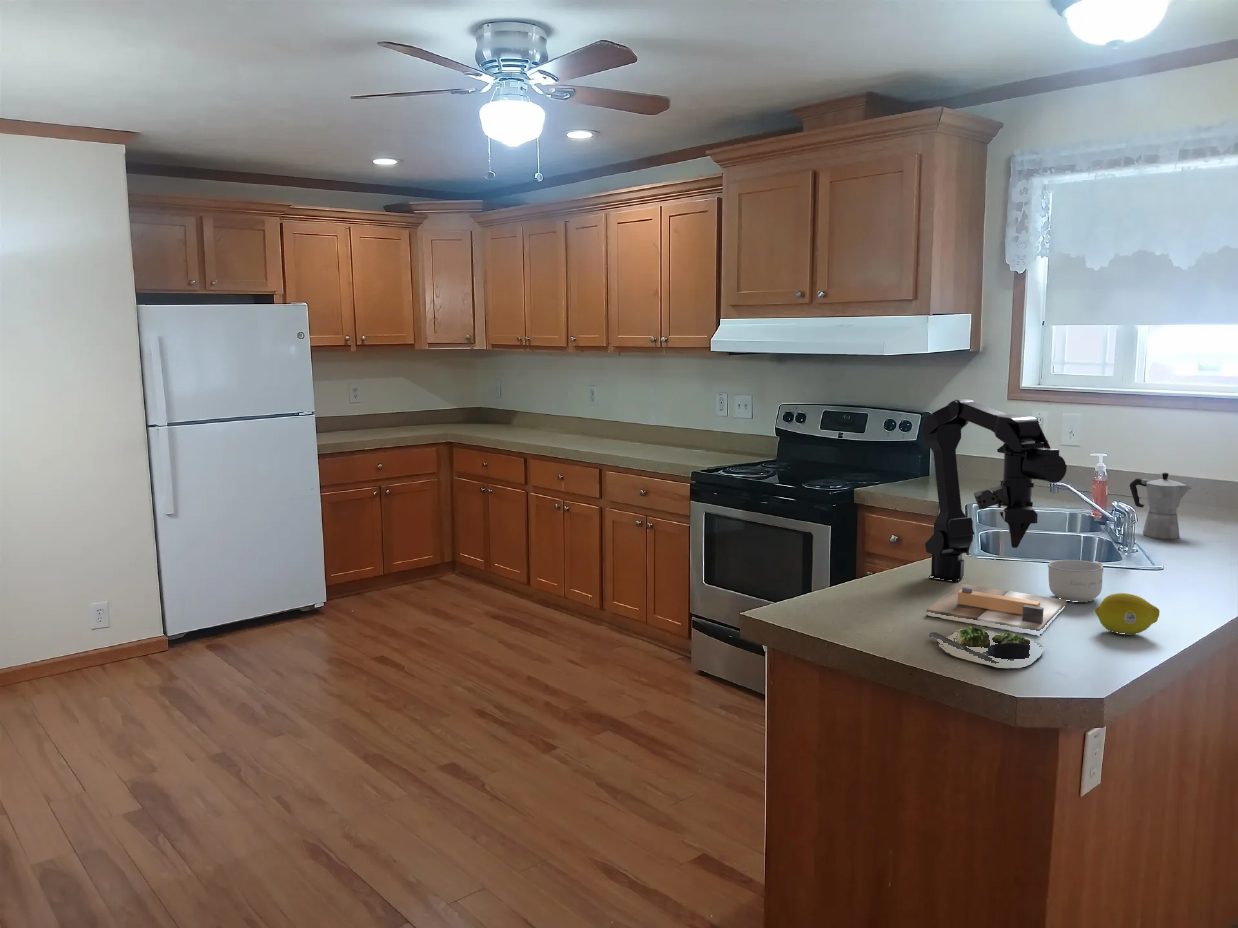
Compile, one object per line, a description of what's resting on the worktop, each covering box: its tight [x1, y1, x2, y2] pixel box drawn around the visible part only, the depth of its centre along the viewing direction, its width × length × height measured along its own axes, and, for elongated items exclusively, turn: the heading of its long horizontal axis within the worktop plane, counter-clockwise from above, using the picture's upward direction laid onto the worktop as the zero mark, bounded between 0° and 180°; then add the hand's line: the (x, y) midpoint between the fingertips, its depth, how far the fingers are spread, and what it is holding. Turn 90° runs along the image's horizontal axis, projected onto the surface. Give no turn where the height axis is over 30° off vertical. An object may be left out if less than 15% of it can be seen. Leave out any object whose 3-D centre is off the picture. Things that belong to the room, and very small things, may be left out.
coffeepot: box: [1129, 472, 1193, 540], centre depth 253 cm, size 15×9×18 cm, turn 44°
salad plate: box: [928, 625, 1044, 664], centre depth 167 cm, size 19×18×5 cm
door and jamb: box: [926, 583, 1067, 631], centre depth 189 cm, size 22×23×4 cm
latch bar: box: [957, 587, 1040, 614], centre depth 185 cm, size 16×2×3 cm, turn 53°
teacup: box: [1047, 559, 1104, 603], centre depth 197 cm, size 14×11×8 cm
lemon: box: [1094, 592, 1160, 635], centre depth 174 cm, size 11×8×8 cm
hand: (1014, 547), depth 193 cm, fingers closed
